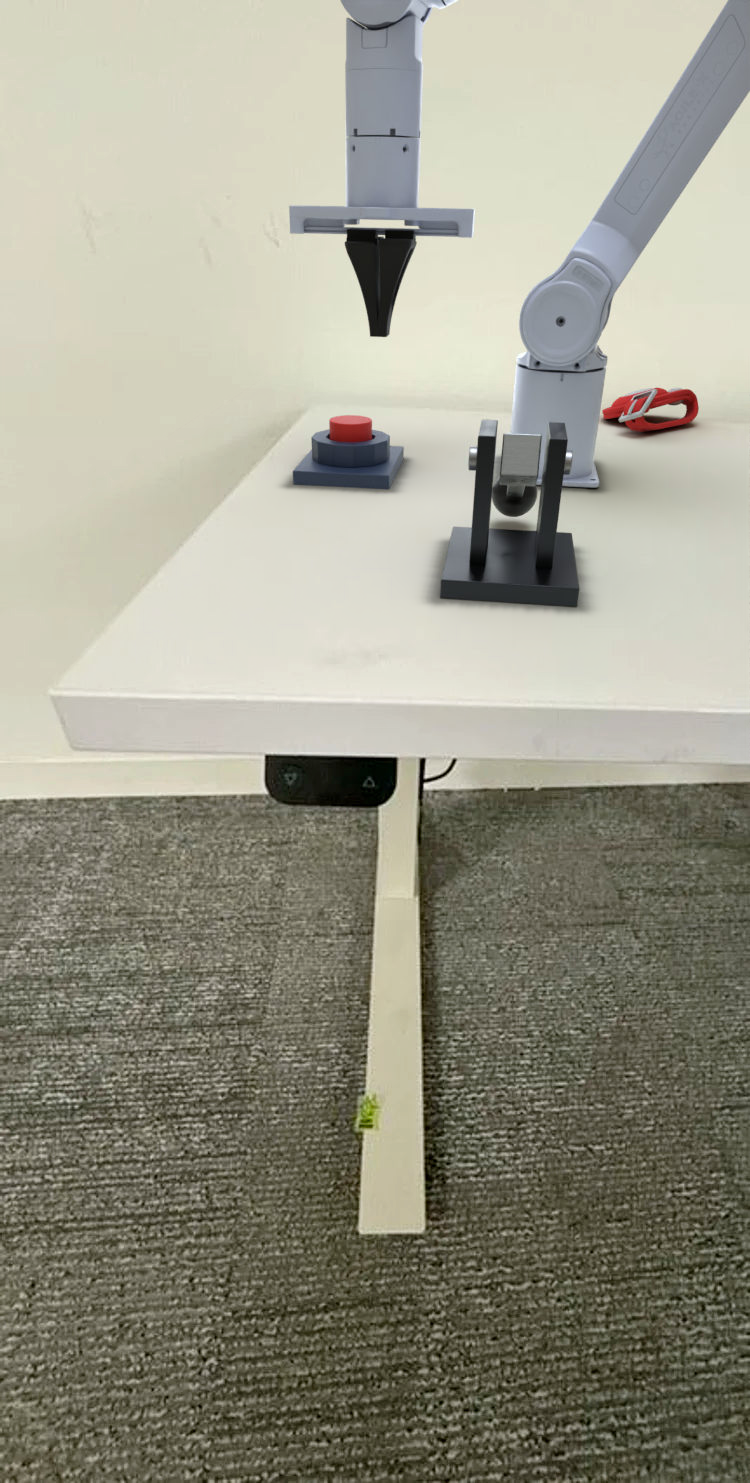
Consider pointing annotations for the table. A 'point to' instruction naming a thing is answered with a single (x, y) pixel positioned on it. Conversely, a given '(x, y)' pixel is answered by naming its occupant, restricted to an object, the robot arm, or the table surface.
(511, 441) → the lever
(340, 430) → the button
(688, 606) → the table surface
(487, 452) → the bracket
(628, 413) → the red strap with buckle
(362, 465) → the box
